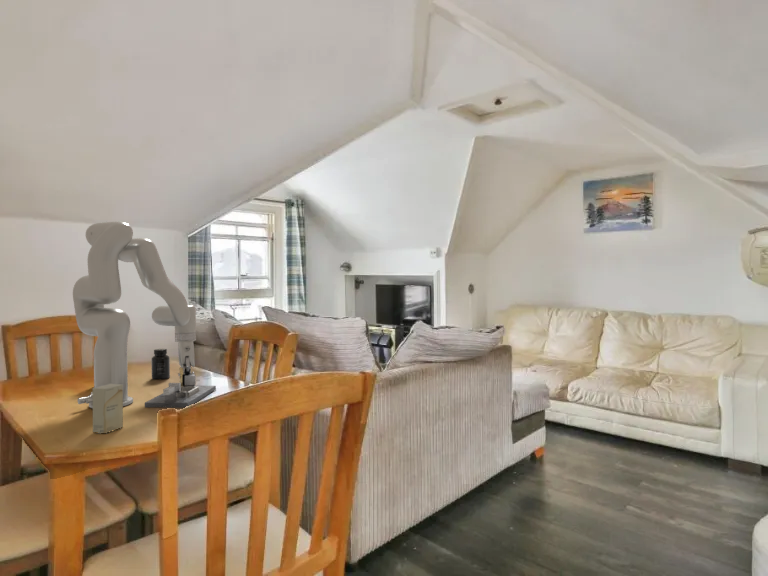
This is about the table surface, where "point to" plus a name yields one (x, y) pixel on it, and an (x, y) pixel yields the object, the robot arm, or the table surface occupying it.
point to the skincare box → (107, 408)
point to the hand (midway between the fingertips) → (185, 382)
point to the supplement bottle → (160, 364)
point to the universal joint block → (182, 374)
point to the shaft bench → (181, 394)
